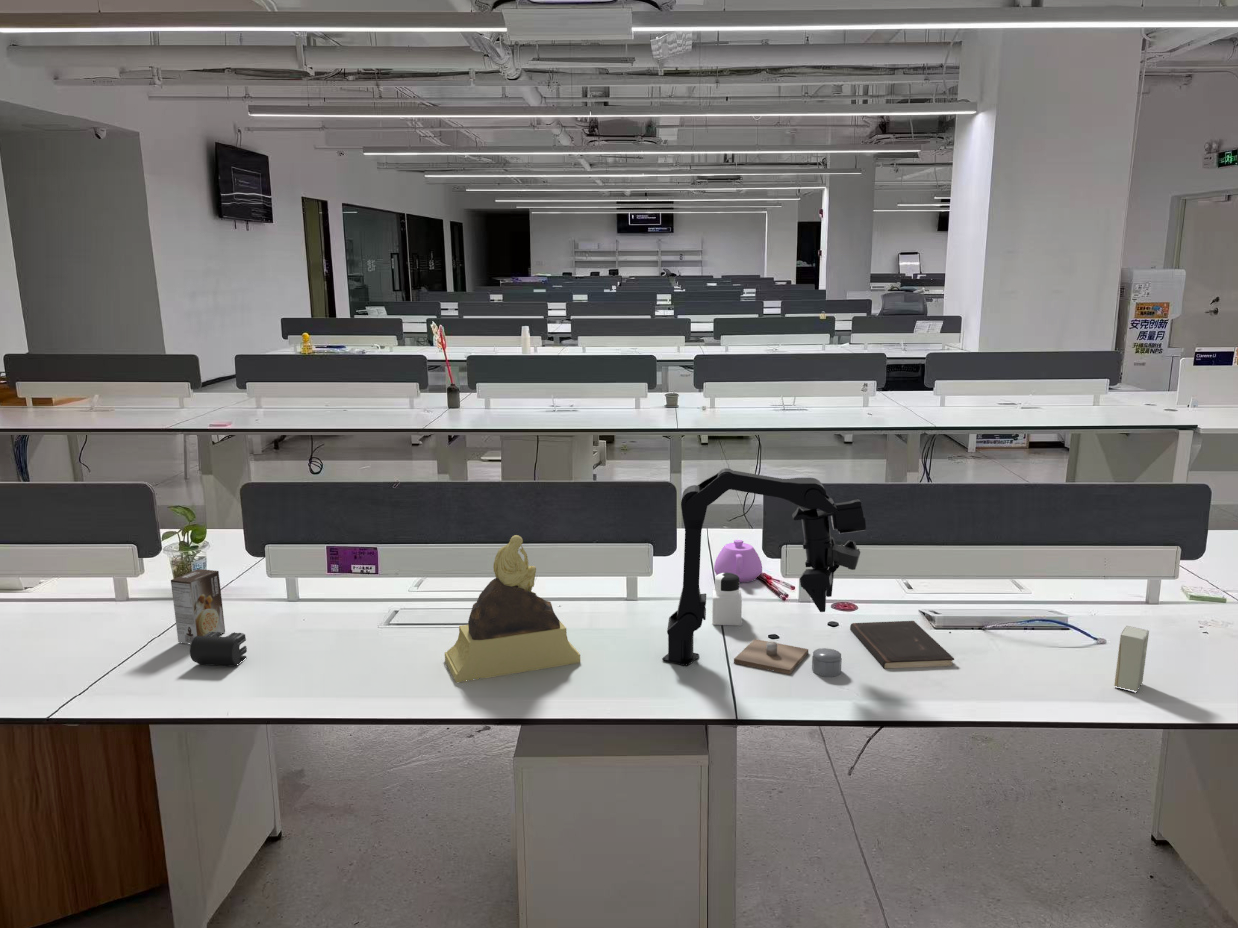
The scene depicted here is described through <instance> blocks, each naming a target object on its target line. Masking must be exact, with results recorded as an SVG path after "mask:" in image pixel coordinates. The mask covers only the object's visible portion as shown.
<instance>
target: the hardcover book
mask: <svg viewBox="0 0 1238 928" xmlns="http://www.w3.org/2000/svg"><path fill="white" fill-rule="evenodd" d="M849 630H850V631H851V633H852V634H853V635H854V636H855V637H856V639H858V641H859V642H860V643H861V645H863V647H864V648H865V650H867V651H868V652H869V654H870V655H871V656H872V657H873V658H874V659H875V661H876V662H877V663H878V664H879V665H880V666H881V668H883V670H885V669H897V668H898V669H901V668H919V667H921V668H922V667H923V668H925V667H927V668H928V667H947V666H952V665H953V661H955V658H954V657H953V656H952V655H951V654H950V653H949V652H948V651H947V650H946V649H944V647H942V645H940V643H938V642H937V641H936V640H935V639H934V638H933V637H931V636H930V634H929V633H927V632H926V631H925V629H923V628H922V627H921V626H920V625H919V624H918V623H917V622H915V621H914V620H901V621H899V620H896V621H895V620H894V621H873V622H853V623H850V626H849Z"/></svg>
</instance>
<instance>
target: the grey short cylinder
mask: <svg viewBox="0 0 1238 928" xmlns="http://www.w3.org/2000/svg"><path fill="white" fill-rule="evenodd" d="M811 659H812V661H811V670H812V673H814V674H815V675H817V676H819V677H826V678H834V677H837V676H840V675H841V673H842V653H841V652H840V651H838V650H836V649H834V648H833V649H832V648H828V647H827V648H823V647H822V648H817V649H815V650H813V652H812V658H811Z"/></svg>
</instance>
